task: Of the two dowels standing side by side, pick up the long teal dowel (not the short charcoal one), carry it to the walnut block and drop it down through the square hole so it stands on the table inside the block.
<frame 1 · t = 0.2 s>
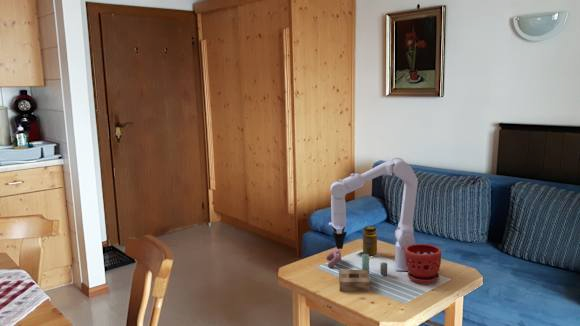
hand: (339, 245, 193), 10 cm above the table, tool pointing down, fingers open, 7 cm apart
long pin: (365, 274, 188), on the table
hole block: (354, 284, 180), on the table
short pin: (383, 274, 188), on the table
pink curved piece: (334, 264, 201), on the table
condiment: (368, 254, 210), on the table
plant pot: (422, 279, 183), on the table
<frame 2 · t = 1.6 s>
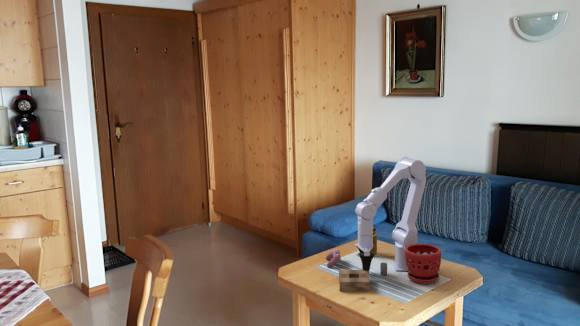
hand: (365, 267, 188), 3 cm above the table, tool pointing down, fingers open, 7 cm apart
nothing on the table moved.
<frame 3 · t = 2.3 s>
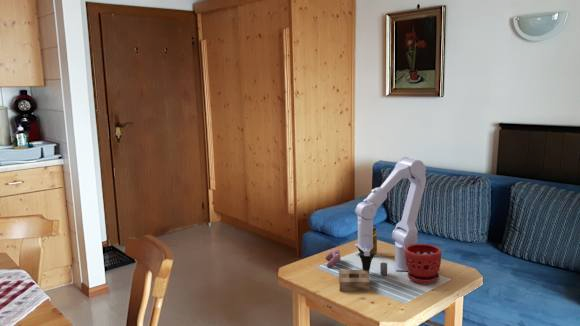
hand: (365, 267, 187), 3 cm above the table, tool pointing down, fingers open, 6 cm apart
nothing on the table moved.
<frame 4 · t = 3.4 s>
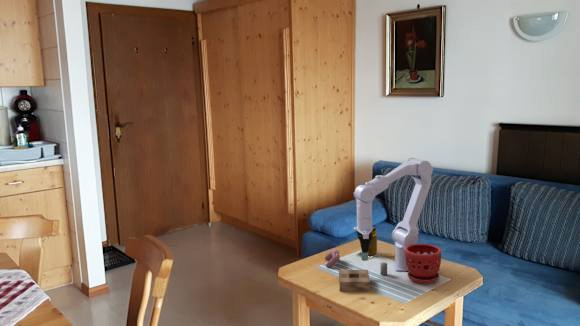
hand: (364, 250, 186), 10 cm above the table, tool pointing down, fingers closed on long pin, 2 cm apart
long pin: (364, 259, 187), point 6 cm above the table, touching gripper
everything else where it was.
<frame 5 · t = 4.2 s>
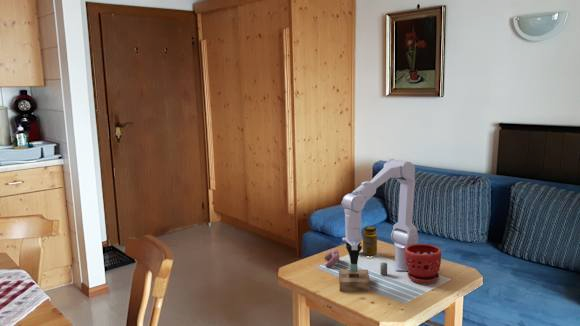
hand: (353, 262, 178), 9 cm above the table, tool pointing down, fingers closed on long pin, 2 cm apart
long pin: (354, 271, 179), point 5 cm above the table, touching gripper
everything else where it was.
when the fingers open (5 cm above the table, at t = 5.5 s): long pin drops 1 cm, resting in hole block.
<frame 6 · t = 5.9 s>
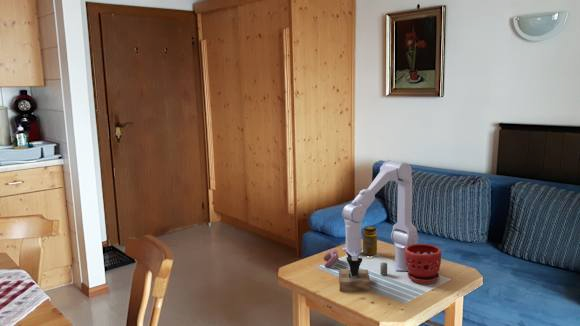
hand: (353, 272, 179), 5 cm above the table, tool pointing down, fingers open, 6 cm apart
long pin: (354, 284, 180), resting in hole block
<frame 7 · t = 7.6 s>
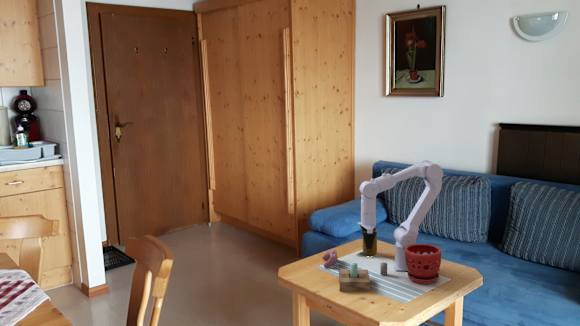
hand: (368, 245, 191), 10 cm above the table, tool pointing down, fingers open, 7 cm apart
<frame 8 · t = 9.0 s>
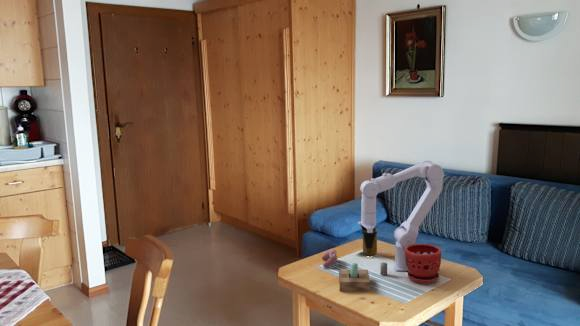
hand: (368, 244, 191), 10 cm above the table, tool pointing down, fingers open, 7 cm apart
at the end: long pin 0.1 cm off-centre on the hole block, point 0.0 cm above the hole block's base; long pin tilted 0°; short pin moved 0.0 cm from its start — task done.
